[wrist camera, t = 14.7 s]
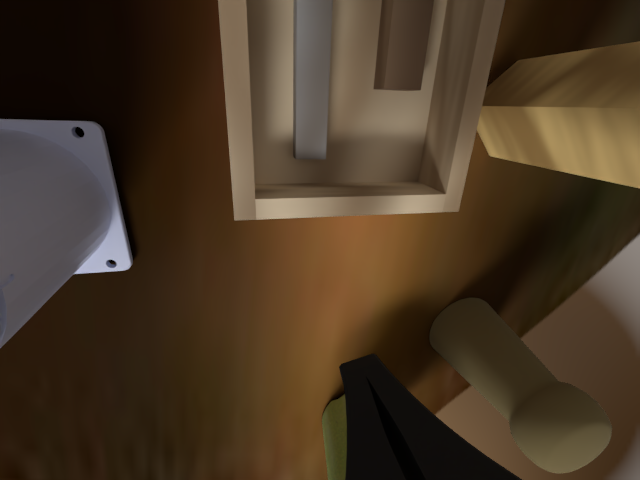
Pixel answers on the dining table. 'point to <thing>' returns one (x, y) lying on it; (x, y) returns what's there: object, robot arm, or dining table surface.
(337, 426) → the plant pot
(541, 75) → the wooden block
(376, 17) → the toolbox
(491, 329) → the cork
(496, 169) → the dining table surface
